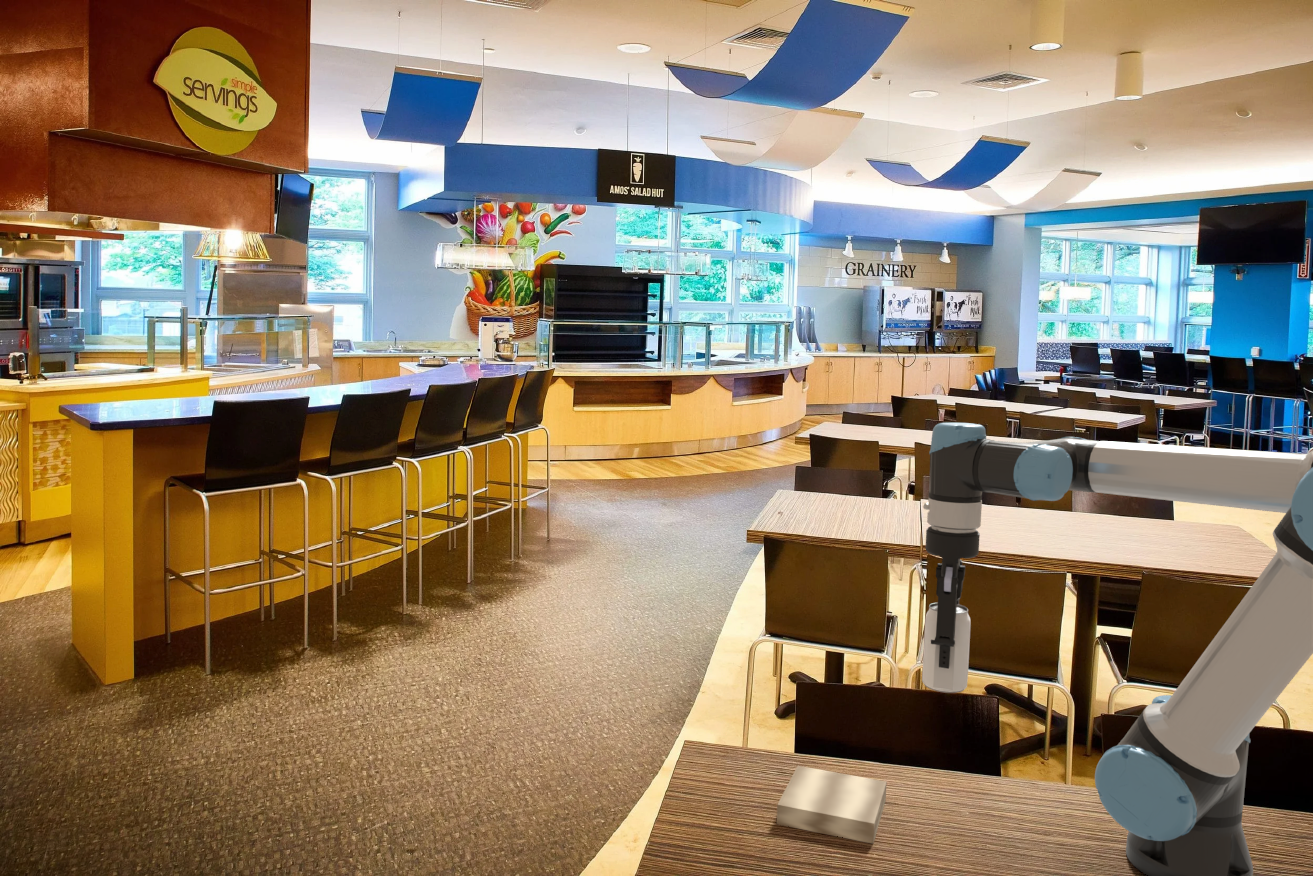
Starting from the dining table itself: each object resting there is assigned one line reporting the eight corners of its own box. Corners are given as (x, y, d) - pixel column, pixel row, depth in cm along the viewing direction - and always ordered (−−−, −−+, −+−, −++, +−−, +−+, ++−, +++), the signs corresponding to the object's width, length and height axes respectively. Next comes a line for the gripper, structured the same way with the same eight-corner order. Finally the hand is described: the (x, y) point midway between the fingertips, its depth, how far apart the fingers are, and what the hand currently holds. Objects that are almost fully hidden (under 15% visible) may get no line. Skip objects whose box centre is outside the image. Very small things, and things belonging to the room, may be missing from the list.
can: (972, 694, 137) (977, 614, 136) (928, 693, 137) (932, 613, 136) (959, 679, 144) (963, 602, 142) (917, 677, 144) (921, 601, 143)
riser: (885, 800, 146) (886, 781, 146) (873, 843, 133) (874, 823, 133) (796, 783, 151) (797, 765, 151) (776, 824, 138) (777, 804, 138)
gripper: (932, 515, 148) (924, 656, 151) (920, 537, 131) (912, 698, 133) (982, 519, 146) (973, 663, 148) (977, 542, 128) (968, 706, 130)
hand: (944, 679), depth 140 cm, fingers closed on can, 6 cm apart
